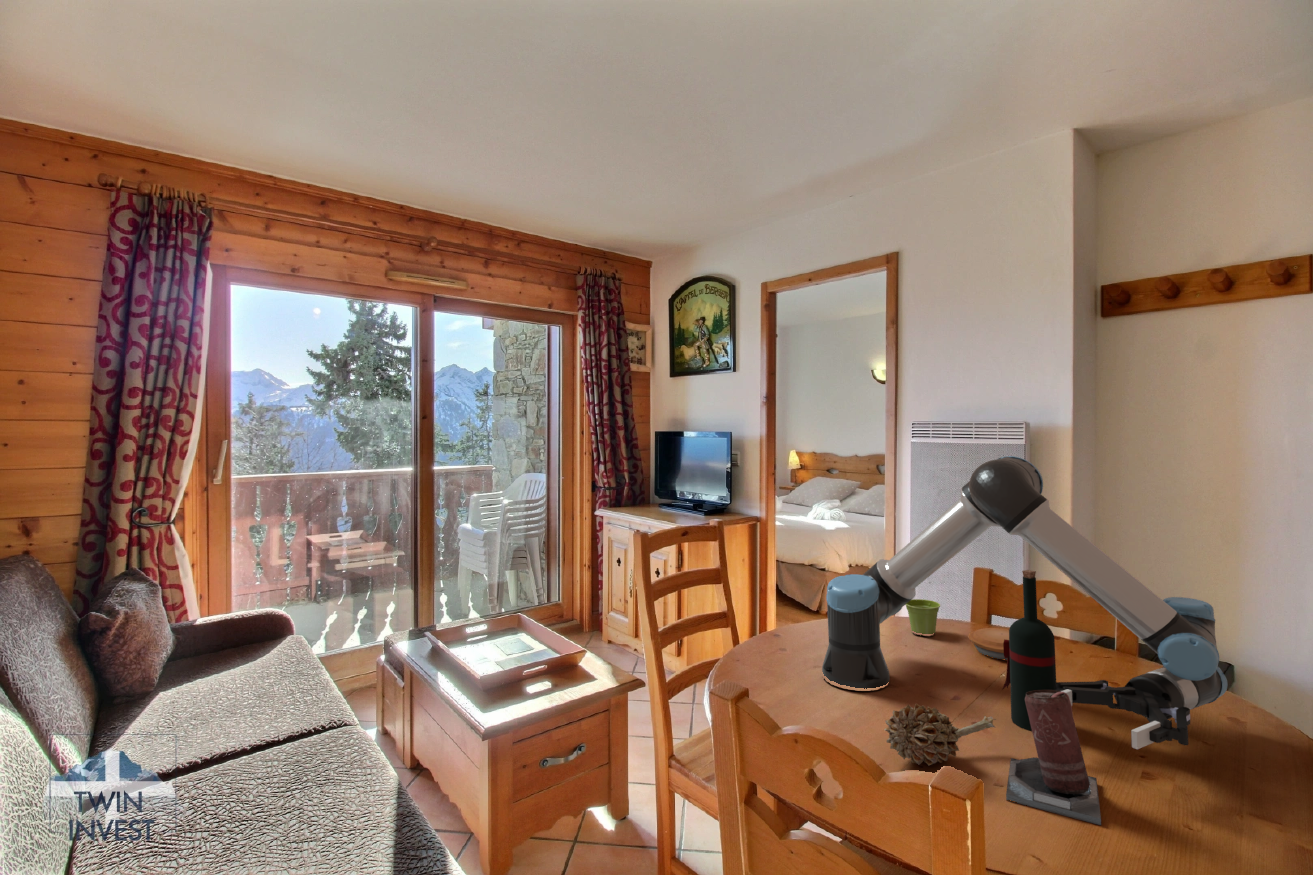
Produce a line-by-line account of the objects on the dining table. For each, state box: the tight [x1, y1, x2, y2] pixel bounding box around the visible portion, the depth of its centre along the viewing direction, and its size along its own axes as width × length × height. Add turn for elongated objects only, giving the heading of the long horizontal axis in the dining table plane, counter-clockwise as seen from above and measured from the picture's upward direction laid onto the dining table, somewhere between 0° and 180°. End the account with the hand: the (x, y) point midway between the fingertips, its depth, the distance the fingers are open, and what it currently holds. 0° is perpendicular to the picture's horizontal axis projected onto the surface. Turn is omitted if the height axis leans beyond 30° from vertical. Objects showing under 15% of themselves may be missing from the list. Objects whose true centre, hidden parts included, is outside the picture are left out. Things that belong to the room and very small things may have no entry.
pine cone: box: [883, 703, 997, 766], centre depth 107 cm, size 22×10×10 cm, turn 109°
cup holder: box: [1005, 757, 1102, 826], centre depth 96 cm, size 12×12×2 cm
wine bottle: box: [1001, 569, 1057, 732], centre depth 119 cm, size 8×10×30 cm
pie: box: [968, 627, 1010, 661], centre depth 154 cm, size 16×16×5 cm
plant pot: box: [905, 598, 941, 634], centre depth 170 cm, size 9×9×9 cm
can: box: [1025, 690, 1090, 794], centre depth 96 cm, size 6×6×14 cm
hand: (1087, 721), depth 100 cm, fingers open, 13 cm apart
